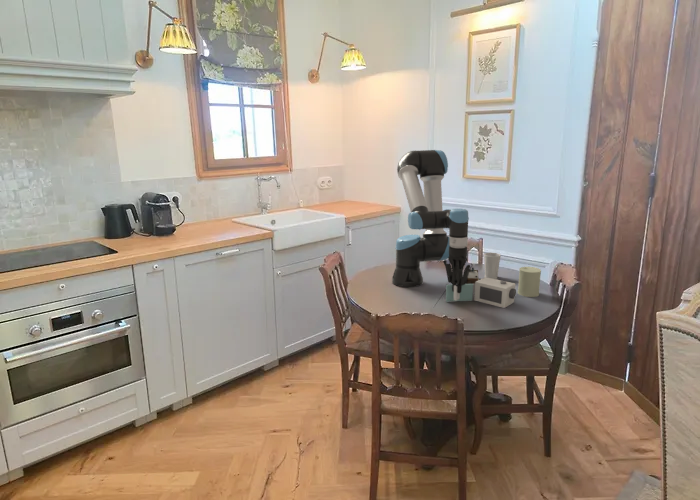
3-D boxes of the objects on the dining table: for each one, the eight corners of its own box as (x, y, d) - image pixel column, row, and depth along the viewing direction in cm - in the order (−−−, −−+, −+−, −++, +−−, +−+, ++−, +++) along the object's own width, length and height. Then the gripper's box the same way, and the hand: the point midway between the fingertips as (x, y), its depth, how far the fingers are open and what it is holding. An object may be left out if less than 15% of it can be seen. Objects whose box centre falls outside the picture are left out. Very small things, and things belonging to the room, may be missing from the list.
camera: (481, 293, 210) (482, 272, 207) (464, 292, 212) (465, 271, 209) (481, 283, 224) (482, 263, 221) (465, 282, 226) (466, 262, 223)
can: (523, 288, 214) (525, 264, 211) (542, 293, 208) (544, 268, 205) (513, 293, 208) (515, 268, 205) (533, 298, 202) (535, 272, 199)
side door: (473, 299, 202) (474, 282, 200) (474, 300, 200) (475, 284, 198) (445, 300, 201) (445, 283, 199) (446, 301, 199) (446, 285, 197)
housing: (474, 300, 201) (475, 280, 199) (484, 294, 207) (485, 275, 205) (506, 308, 191) (508, 287, 189) (516, 302, 197) (517, 282, 195)
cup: (501, 276, 233) (502, 253, 230) (496, 280, 226) (498, 257, 223) (485, 274, 237) (486, 251, 234) (480, 278, 231) (482, 255, 228)
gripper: (440, 245, 193) (438, 298, 198) (467, 250, 184) (465, 305, 190) (449, 242, 198) (448, 294, 204) (476, 246, 189) (474, 300, 195)
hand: (456, 299), depth 197 cm, fingers closed
